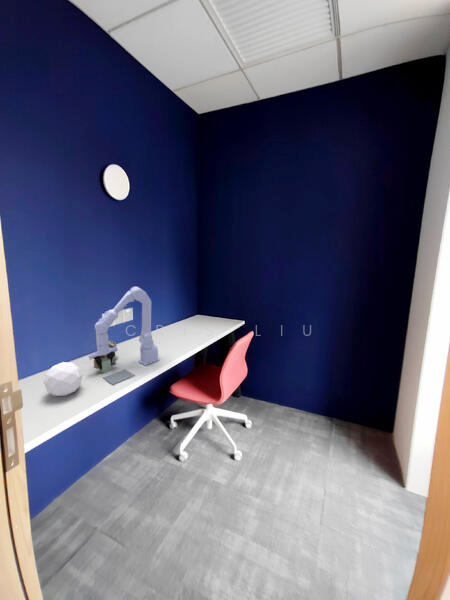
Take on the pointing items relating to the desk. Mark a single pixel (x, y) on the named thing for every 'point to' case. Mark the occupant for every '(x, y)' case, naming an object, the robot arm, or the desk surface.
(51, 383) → the geometric shape
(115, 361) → the metal cylinder
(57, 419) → the desk surface
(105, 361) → the green block
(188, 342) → the desk surface
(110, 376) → the mat
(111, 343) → the food container
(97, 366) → the walnut cube
